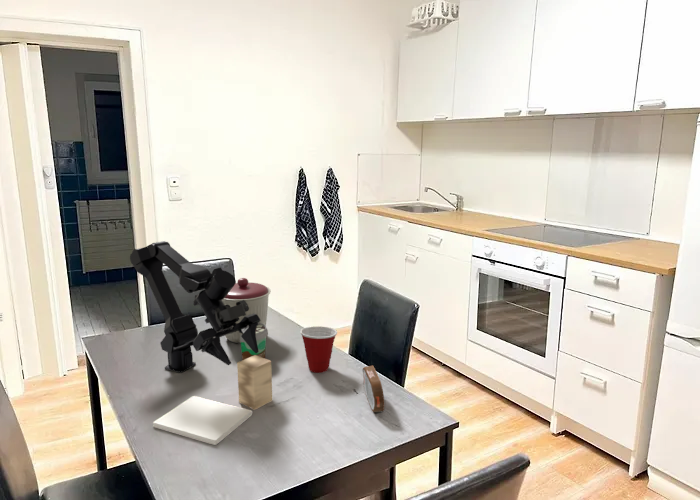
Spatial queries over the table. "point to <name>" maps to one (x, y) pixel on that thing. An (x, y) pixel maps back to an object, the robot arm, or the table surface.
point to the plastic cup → (318, 347)
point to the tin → (373, 389)
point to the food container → (261, 343)
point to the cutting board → (203, 419)
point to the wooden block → (254, 381)
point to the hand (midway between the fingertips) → (243, 358)
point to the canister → (248, 302)
